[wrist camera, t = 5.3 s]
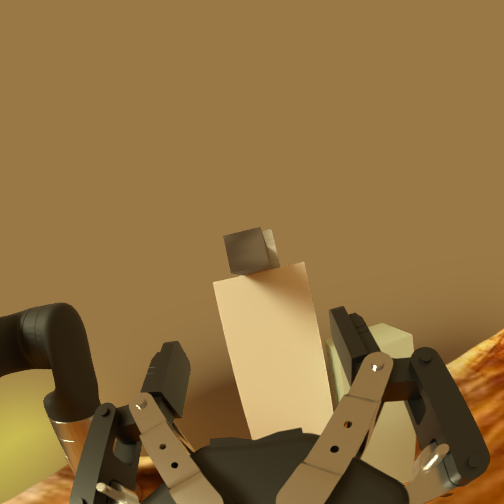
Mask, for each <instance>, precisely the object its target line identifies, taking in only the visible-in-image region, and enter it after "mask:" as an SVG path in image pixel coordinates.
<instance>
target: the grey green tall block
mask: <svg viewBox="0 0 504 504" xmlns="http://www.w3.org/2000/svg"><path fill="white" fill-rule="evenodd" d="M368 328H369V331H370V332H371V334H372V335H373V337H374V339H375V341H376V343H377V344H378V346H379V348H380V350H381V352H384V353H386V354H388V355H390V356H391V358H408V357H411V355H412V353H413V352H414V347H413V338H412V334H409V333H407V332H404V331H401V330H399V329H396V328H394V327H391V326H388V325H386V324H383V323H380V324H377V325H374V326H371V327H368ZM325 345H326V351H327V356H328V362H329V367H330V373H331V379H332V385H333V391H334V398H335V404H336V407H337V406H338V404H339V402H340V400H341V398H342V397H343V395H345V394H346V395H347V394H348V392H349V390H350V386H349V383H348V380H347V377H346V375H345V372H344V369H343V367H342V364H341V361H340V359H339V356H338V353H337V351H336V348H335V345H334V343H333V339H332V338H330V339H325ZM415 446H416V433H415V430H414V428H413V425H412V422H411V419H410V417H409V414H408V412H407V409H406V406H405V404H404V401H394V402H385V404H384V407H383V409H382V412H381V414H380V417H379V419H378V422H377V424H376V426H375V429H374V431H373V433H372V436H371V439H370V441H369V444H368V446H367V448H366V450H365V452H364V454H363V456H362V458H361V460H363V461H365V462H366V463H368V464H370V465H372V466H373V467H375V468H377V469H378V470H380V471H382V472H384V473H386V474H387V475H389V476H391V477H393V478H395V479H397V480H398V481H400V482H401V483H402V484H404V483H407V482H409V481H411V480H412V477H413V470H412V468H413V464H414V459H415Z"/></svg>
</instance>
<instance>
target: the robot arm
mask: <svg viewBox="0 0 504 504" xmlns="http://www.w3.org/2000/svg"><path fill="white" fill-rule="evenodd" d="M329 316H330V325H331V335H332V339H333V343H334V345H335V348H336V351H337V353H338V356H339V359H340V361H341V364H342V367H343V369H344V372H345V375H346V377H347V380H348V383H349V386H350V390H349V392H348V394H347V395H346V394H345V395H343V397H342V398H341V400H340V402H339V404H338V406H337V407H336V409H335V411H334V413H333V415H332V416H331V418H330V420H329V422H328V423H327V425H326V427H325V429H324V430H323V432H322V434H321V435H318V434H313V433H303V431H302V427H300V428H295V429H290V430H285V431H279V432H276V433H273V434H271V435H268V436H265V437H262V438H260V439H256V440H249V439H240V438H216V439H210V445H208V446H205V447H202V448H200V449H199V450H197V451H195V450H194V449H193V448H192V446H191V445H190V444H189V443H188V441H187V440H186V438H185V437H184V436H183V435H182V433H181V431H180V430H179V429H178V427H177V426H176V424H175V423H174V422H173V421H174V418H182V413H183V408H184V402H185V397H186V392H187V386H188V381H189V376H190V363H189V360H188V358H187V356H186V354H185V353H184V351H183V349H182V347H181V345H180V343H179V342H178V341H173V342H166V343H164V344H163V346H162V349H161V352H158V353H157V354H156V355H155V356H154V357H153V359H152V360H151V363H150V366H149V367H150V368H149V369H148V372H147V373H148V374H147V375H146V378H145V380H144V383H143V387H142V389H141V393H139V394H137V395H135V396H134V397H133V398H132V399H131V400H130V402H129V405H126V406H122V407H119V408H116V407H115V406H114V405H113V404H111V403H104V404H102V405H101V403H100V400H99V395H98V383H97V379H96V375H95V371H94V367H93V363H92V358H91V353H90V348H89V344H88V340H87V335H86V331H85V328H84V325H83V322H82V320H81V317H80V316H79V314H78V312H77V311H76V310H75V309H74V308H73V307H72V306H71V305H69V304H67V303H54V304H49V305H44V306H40V307H34V308H30V309H27V310H24V311H21V312H18V313H15V314H11V315H8V316H4V317H0V377H2V376H4V375H7V374H10V373H14V372H19V371H24V370H30V369H52V372H53V376H54V381H55V390H54V391H53V392H51V393H49V394H48V395H46V397H45V398H44V400H43V401H44V407H45V410H46V412H47V414H48V417H49V420H50V422H51V424H52V427H53V429H54V431H55V433H56V435H57V438H58V440H59V442H60V444H61V446H62V448H63V450H64V451H65V454H66V456H65V458H66V460H67V462H68V464H69V466H70V468H71V469H72V471H73V473H74V474H75V479H74V483H73V487H72V491H71V496H70V501H69V504H426V503H428V502H430V501H433V500H435V499H437V498H439V497H448V496H450V495H452V494H454V493H456V492H458V491H460V490H461V489H463V488H464V487H466V486H467V485H469V484H470V483H472V482H473V481H474V480H475V479H476V478H478V477H479V476H480V475H481V474H483V473H484V472H485V470H486V469H487V467H488V465H489V461H490V454H489V451H488V449H487V447H486V444H485V442H484V440H483V437H482V435H481V433H480V431H479V428H478V426H477V424H476V422H475V420H474V418H473V416H472V414H471V412H470V410H469V408H468V406H467V404H466V402H465V400H464V398H463V396H462V394H461V392H460V391H459V389H458V387H457V385H456V383H455V382H454V380H453V378H452V376H451V374H450V373H449V371H448V369H447V368H446V366H445V364H444V362H443V361H442V359H441V357H440V356H439V354H438V353H437V352H436V351H435V350H434V349H432V348H428V347H422V348H419V349H417V350H415V351H414V352H413V353H412V355H411V357H408V358H391V356H390V355H388V354H386V353H384V352H381V350H380V348H379V346H378V344H377V343H376V341H375V339H374V337H373V335H372V334H371V332H370V331H369V328H368V327H367V326H366V323H365V322H364V320H363V318H362V317H361V316H359V315H358V314H356V313H353V314H349V315H348V313H347V312H346V310H345V308H344V307H343V306H341V307H337V308H334V309H330V310H329ZM394 401H404V404H405V406H406V409H407V412H408V414H409V417H410V419H411V422H412V425H413V428H414V430H415V433H416V436H417V439H418V442H419V445H420V448H421V451H422V452H421V454H420V455H419V456H418V458H417V459H416V460H415V462H414V464H413V468H412V470H413V477H412V480H411V482H410V483H409V484H407V485H405V486H404V485H403V484H402V483H401V482H400V481H398V480H397V479H395V478H393V477H391V476H389V475H387V474H386V473H384V472H382V471H380V470H378V469H377V468H375V467H373V466H372V465H370V464H368V463H366V462H365V461H363V460H361V458H362V456H363V454H364V452H365V450H366V448H367V446H368V444H369V441H370V439H371V436H372V433H373V431H374V429H375V426H376V424H377V422H378V419H379V417H380V414H381V412H382V409H383V407H384V404H385V402H394ZM115 439H116V440H117V441H116V440H115ZM142 443H143V445H144V447H145V449H146V450H147V452H148V454H149V456H150V458H151V460H152V461H153V463H154V465H155V467H156V468H157V470H158V472H159V473H160V475H161V477H162V478H163V480H164V482H163V483H162V484H161V485H160V486H159V487H158V488H157V489H156V490H155V491H154V492H153V493H151V494H150V495H149V496H148V497H147V498H146V499H145V500H144V501H143V502H141V503H140V502H139V501H140V499H141V497H142V490H141V489H140V487H139V485H138V483H137V482H136V476H137V470H138V464H139V457H140V452H141V446H142Z"/></svg>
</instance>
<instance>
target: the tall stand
mask: <svg viewBox="0 0 504 504" xmlns="http://www.w3.org/2000/svg"><path fill="white" fill-rule="evenodd" d="M213 285H214V290H215V295H216V299H217V304H218V308H219V313H220V317H221V321H222V326H223V330H224V334H225V338H226V343H227V347H228V351H229V355H230V359H231V363H232V367H233V371H234V375H235V379H236V383H237V386H238V390H239V394H240V398H241V401H242V405H243V409H244V412H245V416H246V419H247V423H248V426H249V430H250V433H251V437H252V440H256V439H260V438H262V437H265V436H268V435H271V434H273V433H276V432H279V431H285V430H290V429H295V428H300V427H302V431H303V433H313V434H318V435H321V434H322V432H323V430H324V429H325V427H326V425H327V423H328V422H329V420H330V418H331V416H332V415H333V408H332V401H331V395H330V389H329V383H328V377H327V372H326V366H325V360H324V356H323V350H322V344H321V339H320V334H319V329H318V324H317V319H316V314H315V310H314V305H313V300H312V296H311V291H310V287H309V282H308V278H307V273H306V269H305V265H304V262H301V263H297V264H293V265H288V266H284V267H279V268H275V269H271V270H266V271H262V272H258V273H253V274H249V275H244V276H240V277H235V278H231V279H227V280H222V281H217V282H213Z"/></svg>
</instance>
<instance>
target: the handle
mask: <svg viewBox="0 0 504 504" xmlns="http://www.w3.org/2000/svg"><path fill="white" fill-rule="evenodd" d="M223 237H224V242H225V246H226V251H227V256H228V261H229V265H230V270H231V273H233V274H239V275H240V276H244V275H249V274H253V273H258V272H262V271H266V270H271V269H275V268H279V267H280V264H279V259H278V255H277V252H276V247H275V242H274V238H273V234H272V230H271V229H269V230H265V231H262V230H261V228H260V227H259V228H255V229H251V230H246V231H242V232H238V233H233V234H230V235H225V236H223Z"/></svg>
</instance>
